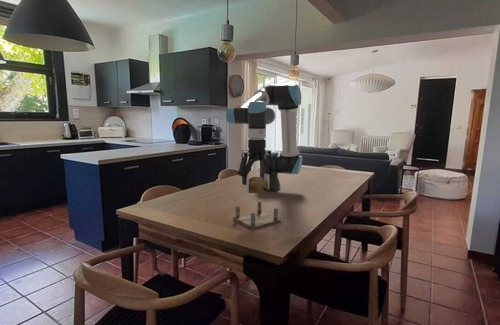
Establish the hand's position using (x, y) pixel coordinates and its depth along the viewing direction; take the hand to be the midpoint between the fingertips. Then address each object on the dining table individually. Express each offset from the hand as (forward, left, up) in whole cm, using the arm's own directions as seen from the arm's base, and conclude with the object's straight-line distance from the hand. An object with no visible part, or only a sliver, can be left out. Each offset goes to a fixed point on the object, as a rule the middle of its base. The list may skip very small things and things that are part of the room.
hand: (256, 190), depth 122 cm
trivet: (0, 0, -14) cm, 14 cm away
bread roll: (0, 0, -1) cm, 1 cm away
